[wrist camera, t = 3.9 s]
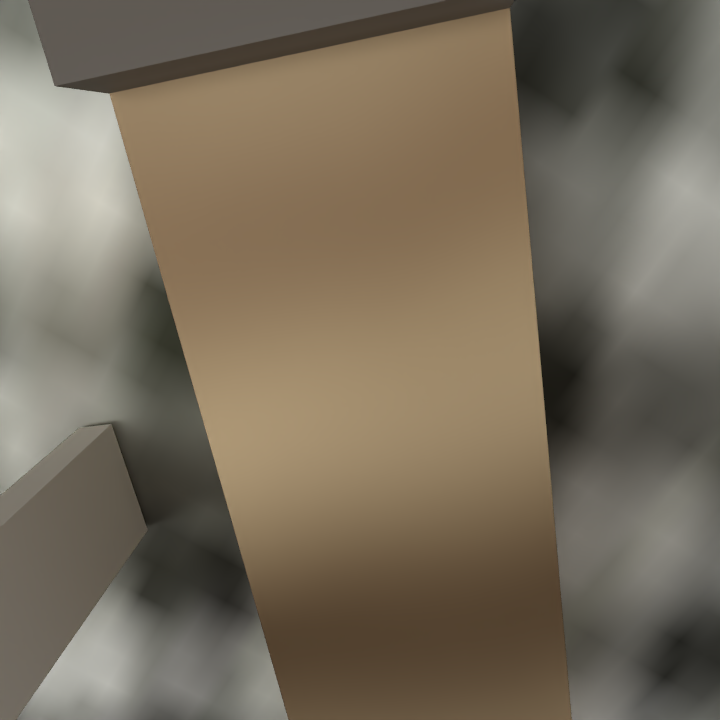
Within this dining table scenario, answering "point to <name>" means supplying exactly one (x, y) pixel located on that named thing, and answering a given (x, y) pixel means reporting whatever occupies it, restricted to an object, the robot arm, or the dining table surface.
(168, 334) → the dining table surface
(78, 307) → the dining table surface
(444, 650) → the rail
